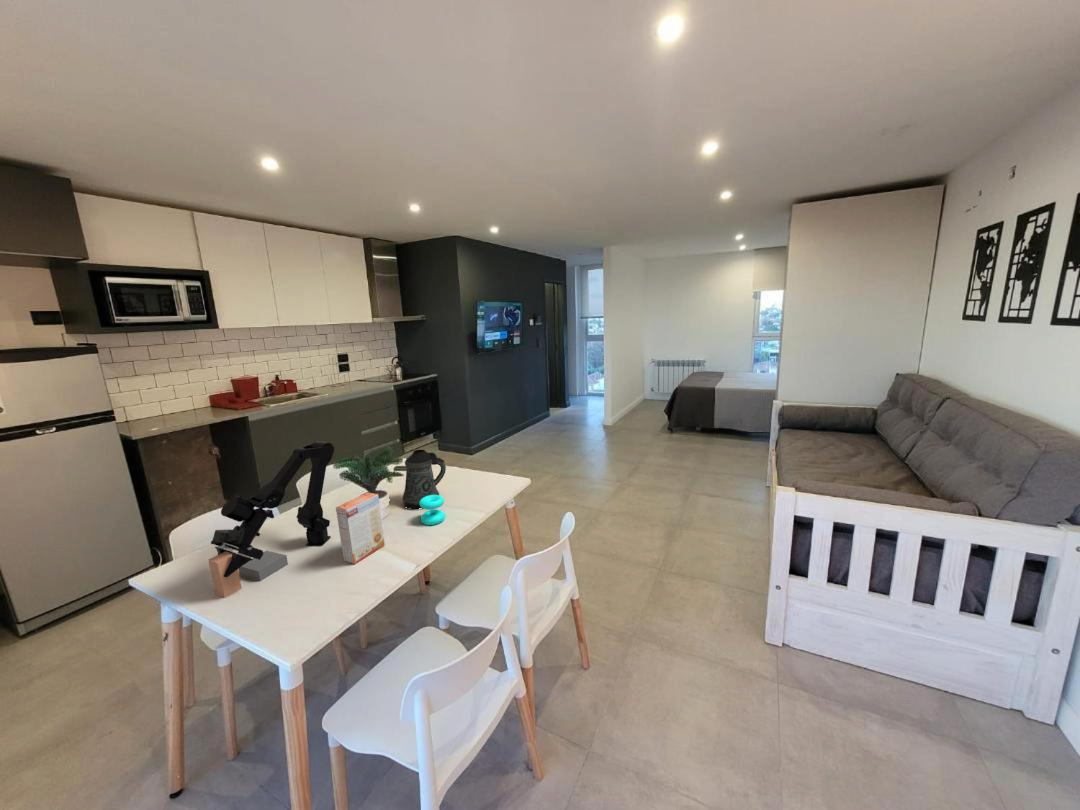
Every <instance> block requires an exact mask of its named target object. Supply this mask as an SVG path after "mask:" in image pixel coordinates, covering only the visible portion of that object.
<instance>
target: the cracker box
mask: <svg viewBox="0 0 1080 810" xmlns="http://www.w3.org/2000/svg"><path fill="white" fill-rule="evenodd" d="M335 512H336V518H337V524H338V532H339V537H340V538H339V539H340V544H341V549H342V556H343V562H347V563H349V564H352V565H356V564H357V563H360V562H361V561H362V560H364V559H366V558H367V557H368V556H370V555H371V554H373V553H375V552H376V551H378V550H379V549H381V548H382V547H384V546H385V545H386V544H385V535H384V529H383V528H384V527H383V522H382V521H383V520H382V515H381V506H380V499H379V494H378V493H373V492H366V493H363V494H362V495H361V494H360V495H359V496H357V497H355V498H353V499H350V500H348V501H346V502H344V503H342V504H340V505H338V506H336V507H335Z"/></svg>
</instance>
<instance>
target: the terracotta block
mask: <svg viewBox="0 0 1080 810" xmlns="http://www.w3.org/2000/svg"><path fill="white" fill-rule="evenodd" d="M231 560H232V553H229V552H223V553H221V554H219V555H218V554H217V555H216V556H213V557H211V558H209V559H208V565H209V570H210V575H211V579H212V580H211V581H212V584H213V585H212V586H213V588H214V593H215V595H217V596H219V597H221V598H224V599H225V598H227V597H230V596H231V595H233V594H235V593H236V592H238V591H240V590H242V583H241V578H240V577H241V576H240V573H239V569H237V570H236V571H235V572H233V573H232V574H231V575H230V576H228V577H224V574H225V572H226V570H227V568H228V566H229V564H230V562H231Z"/></svg>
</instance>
